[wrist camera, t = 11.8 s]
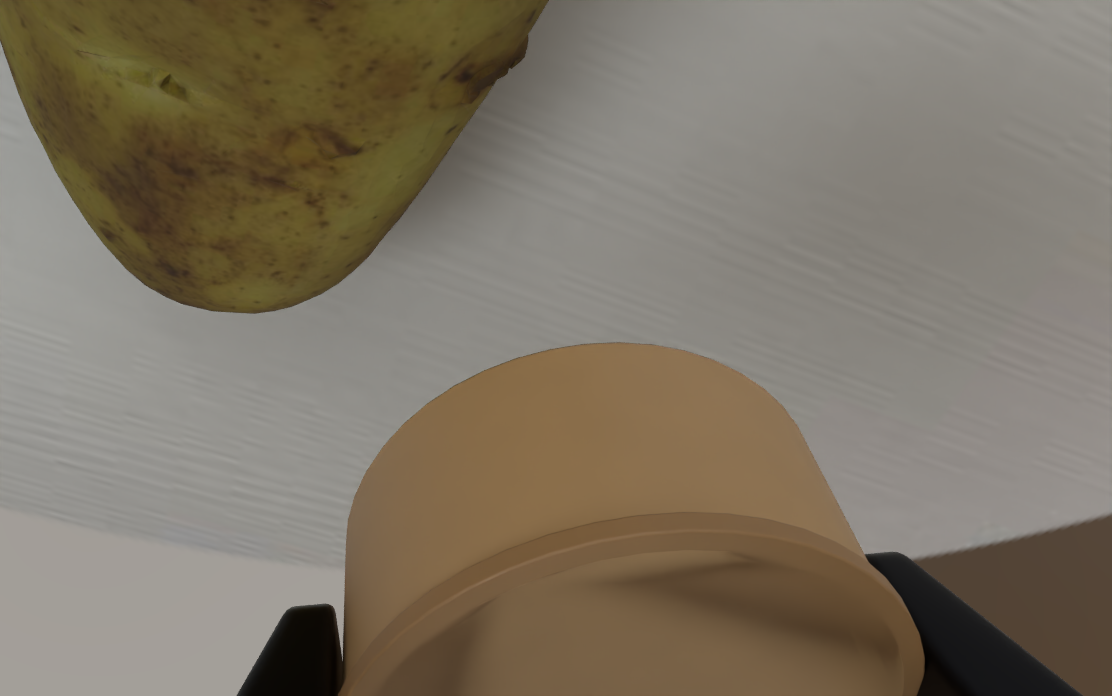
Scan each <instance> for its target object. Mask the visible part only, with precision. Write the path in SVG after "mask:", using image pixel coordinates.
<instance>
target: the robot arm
mask: <svg viewBox="0 0 1112 696" xmlns="http://www.w3.org/2000/svg"><path fill="white" fill-rule="evenodd" d="M864 555H865V556H866V558H867V560H868V562H869V563H870V564H871V565H872V566H873V567H874V568H875V569H877V570H878V571H879V572H880V573H881V574H882V575H884V576H885V577H886V579H887V580H888V581H889V582H890V584H891V585H892V586H893V588H894V589H895V590H896V591H897V593H898V594H899V595H900V597H901V598H902V600H903V602H904V604H905V606H906V607H907V609H908V611H909V613H910V615H911V617H912V619H913V621H914V624H915V626H916V628H917V630H918V632H919V634H920V638H921V643H922V647H923V652H924V656H925V673H924V677H923V680H922V683H921V685H920V688H919V691H918V693H917V696H1083V695H1082V694H1080V693H1079V692H1078V691H1076V690H1075V689H1074V688H1073V687H1071V686H1070V685H1069V684H1068V683H1066V682H1065V681H1064V680H1063V679H1061V678H1060V677H1059V676H1058V675H1056V674H1055V673H1054V672H1053V671H1051V670H1050V669H1048V668H1047V667H1046V666H1045V665H1043V664H1042V663H1041V662H1040V661H1038V660H1037V659H1036V658H1035V657H1034V656H1032V655H1031V654H1030V653H1028V652H1027V651H1026V650H1025V649H1023V648H1022V647H1021V646H1020V645H1018V644H1017V643H1016V642H1014V641H1013V640H1012V639H1011V638H1009V637H1008V636H1007V635H1006V634H1004V633H1003V632H1002V631H1001V630H999V629H998V628H997V627H996V626H994V625H993V624H992V623H990V622H989V621H988V620H987V619H985V618H984V617H983V616H981V615H980V614H979V613H978V612H976V611H975V610H974V609H973V608H971V607H970V606H969V605H968V604H966V603H965V602H964V601H963V600H961V599H960V598H959V597H957V596H956V595H955V594H954V593H952V592H951V591H950V590H949V589H947V588H946V587H945V586H943V585H942V584H941V583H940V582H938V581H937V580H936V579H935V578H933V577H932V576H931V575H930V574H928V573H927V572H926V571H925V570H923V569H922V568H921V567H920V566H918V565H917V564H916V563H914V562H913V561H912V560H911V559H909V558H908V557H907V556H905V555H903V554H901V553H898V552H884V553H873V554H864ZM342 670H343V661H342V654H341V647H340V640H339V633H338V627H337V619H336V613H335V610H334V608H333V606H331V605H329V604H317V605H306V606H295V607H291V608H290V609H288V610H287V611H286V612H285V614H284V615H283V616H282V618H281V619H280V621H279V623H278V625H277V626H276V628H275V630H274V632H273V633H272V635H271V637H270V639H269V640H268V642H267V644H266V646H265V647H264V649H263V651H262V653H261V655H260V656H259V658H258V659H257V661H256V663H255V665H254V666H253V668H252V670H251V672H250V673H249V675H248V677H247V679H246V680H245V682H244V684H243V685H242V687H241V689H240V691H239V693H238V694H237V696H338V694H339V692H340V690H341V688H342Z"/></svg>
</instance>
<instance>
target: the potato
mask: <svg viewBox="0 0 1112 696" xmlns="http://www.w3.org/2000/svg"><path fill="white" fill-rule="evenodd" d="M548 1H549V0H0V41H1V44H2V47H3V50H4V53H5V56H6V59H7V62H8V64H9V67H10V70H11V73H12V76H13V79H14V82H15V85H16V87H17V90H18V93H19V96H20V98H21V100H22V103H23V105H24V107H25V110H26V112H27V115H28V117H29V119H30V122H31V124H32V126H33V128H34V130H35V132H36V134H37V135H38V137H39V139H40V141H41V143H42V145H43V147H44V149H45V151H46V153H47V155H48V157H49V159H50V161H51V163H52V165H53V167H54V169H55V171H56V173H57V175H58V176H59V178H60V180H61V181H62V183H63V185H64V186H65V188H66V190H67V191H68V193H69V195H70V196H71V198H72V200H73V201H74V203H75V204H76V206H77V207H78V209H79V210H80V212H81V213H82V215H83V216H84V218H85V219H86V221H87V222H88V224H89V225H90V226H91V228H92V229H93V230H94V232H95V233H96V234H97V236H98V237H99V238H100V240H101V241H102V242H103V244H104V245H105V246H106V247H107V248H108V249H109V250H110V252H111V253H112V254H113V255H114V256H115V257H116V258H117V259H118V260H119V261H120V263H121V264H122V265H123V266H124V267H125V268H126V269H127V270H128V271H129V272H130V273H132V274H133V275H134V276H135V277H136V278H137V279H139V280H140V281H141V282H142V283H143V284H144V285H146V286H148V287H149V288H151V289H153V290H155V291H156V292H158V293H160V294H162V295H163V296H165V297H167V298H169V299H172V300H174V301H176V302H179V303H181V304H184V305H188V306H193V307H197V308H201V309H205V310H210V311H218V312H235V313H262V312H269V311H276V310H280V309H284V308H288V307H292V306H294V305H297V304H299V303H302V302H304V301H306V300H309V299H311V298H313V297H316V296H318V295H320V294H322V293H324V292H325V291H327V290H328V289H330V288H332V287H333V286H335V285H337V284H338V283H339V282H341V281H342V280H343V279H344V278H345V277H347V276H348V275H349V274H350V273H352V272H353V271H354V270H355V269H356V268H357V267H358V266H359V265H360V264H361V263H362V262H363V261H364V260H366V259H367V258H368V257H369V255H370V254H371V253H372V252H373V250H374V249H375V248H376V246H377V245H378V244H379V242H380V241H381V240H382V239H383V237H384V236H385V235H386V234H387V232H388V231H389V230H390V229H391V228H392V227H393V226H394V224H395V223H396V222H397V221H398V220H399V219H400V217H401V216H402V215H403V213H404V212H405V211H406V209H407V208H408V207H409V205H410V204H411V203H412V201H413V200H414V199H415V197H416V196H417V195H418V193H419V192H420V191H421V189H422V188H423V187H424V185H425V184H426V183H427V181H428V180H429V178H430V177H431V175H432V174H433V172H434V171H435V169H436V168H437V167H438V165H439V164H440V162H441V161H442V159H443V158H444V156H445V155H446V153H447V152H448V150H449V149H450V147H451V146H452V144H453V143H454V141H455V140H456V138H457V137H458V135H459V134H460V133H461V131H462V130H463V128H464V127H465V126H466V124H467V123H468V121H469V120H470V118H471V117H472V116H473V114H474V113H475V111H476V110H477V109H478V107H479V106H480V104H481V103H482V102H483V100H484V99H485V97H486V96H487V94H488V93H489V91H490V90H491V88H492V86H493V85H494V84H495V82H496V81H497V80H498V79H499V78H501V77H503V76H505V75H506V74H507V73H508V69H509V68H511V69H512V68H513V67H515V66H516V65H517V64H518V63H519V62H520V61H521V60H522V59H523V58H524V57H525V54H526V50H527V45H528V33H529V32H530V30H531V29H532V27H533V26H534V24H535V22H536V21H537V19H538V18H539V16H540V14H541V13H542V11H543V9H544V8H545V6H546V4H547V3H548Z"/></svg>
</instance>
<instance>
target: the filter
mask: <svg viewBox="0 0 1112 696" xmlns="http://www.w3.org/2000/svg"><path fill="white" fill-rule="evenodd" d="M343 634H344V635H343V670H342V688H341V690H340V692H339V694H338V696H917V693H918V691H919V688H920V685H921V683H922V680H923V677H924V673H925V656H924V652H923V647H922V643H921V638H920V634H919V632H918V630H917V628H916V626H915V624H914V621H913V619H912V617H911V615H910V613H909V611H908V609H907V607H906V606H905V604H904V602H903V600H902V598H901V597H900V595H899V594H898V593H897V591H896V590H895V589H894V588H893V586H892V585H891V584H890V582H889V581H888V580H887V579H886V577H885V576H884V575H882V574H881V573H880V572H879V571H878V570H877V569H875V568H874V567H873V566H872V565H871V564H870V563H869V562H868V560H867V558H866V556H865V555H864V553H863V551H862V549H861V547H860V545H859V543H858V541H857V539H856V537H855V535H854V533H853V531H852V530H851V528H850V526H849V524H848V522H847V520H846V518H845V516H844V514H843V512H842V510H841V508H840V507H839V505H838V503H837V501H836V499H835V497H834V495H833V493H832V491H831V489H830V487H829V485H828V484H827V482H826V480H825V478H824V476H823V474H822V472H821V470H820V468H819V466H818V464H817V462H816V460H815V459H814V457H813V455H812V453H811V451H810V449H809V447H808V445H807V443H806V441H805V439H804V437H803V436H802V434H801V432H800V430H799V428H798V426H797V424H796V423H795V422H794V420H793V419H792V418H791V416H790V415H789V414H788V412H787V411H786V410H785V408H784V407H783V406H782V405H781V404H780V403H779V402H778V401H777V400H776V399H775V398H774V397H772V396H771V395H770V394H769V393H768V392H767V391H766V390H765V389H764V388H762V387H761V386H759V385H758V384H756V383H755V382H753V381H752V380H750V379H749V378H747V377H746V376H744V375H743V374H741V373H739V372H738V371H735V370H733V369H731V368H729V367H727V366H725V365H723V364H721V363H719V362H717V361H714V360H712V359H709V358H706V357H703V356H700V355H697V354H693V353H690V352H687V351H684V350H679V349H673V348H668V347H663V346H657V345H651V344H636V343H621V342H617V343H594V344H581V345H575V346H568V347H561V348H555V349H549V350H546V351H542V352H538V353H534V354H530V355H526V356H523V357H519V358H516V359H513V360H510V361H508V362H505V363H502V364H500V365H497V366H495V367H492V368H489V369H487V370H484V371H482V372H480V373H478V374H476V375H474V376H472V377H470V378H468V379H467V380H465V381H463V382H461V383H459V384H457V385H455V386H453V387H452V388H450V389H449V390H447V391H446V392H444V393H443V394H441V395H440V396H438V397H437V398H435V399H434V400H432V401H431V402H429V403H427V404H426V405H425V406H424V407H423V408H422V409H420V410H419V411H418V412H417V413H416V414H415V415H413V416H412V417H411V418H410V419H409V420H407V421H406V422H405V423H404V424H403V425H402V426H401V427H400V428H399V429H398V431H397V432H396V433H395V434H394V435H393V436H392V437H391V438H390V439H389V441H388V442H387V443H386V444H385V445H384V446H383V448H382V449H381V451H380V452H379V453H378V455H377V456H376V458H375V459H374V461H373V462H372V464H371V465H370V467H369V468H368V470H367V471H366V473H365V475H364V477H363V479H362V481H361V484H360V486H359V488H358V490H357V492H356V494H355V497H354V500H353V504H352V507H351V511H350V515H349V518H348V526H347V537H346V560H345V601H344V633H343Z"/></svg>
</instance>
